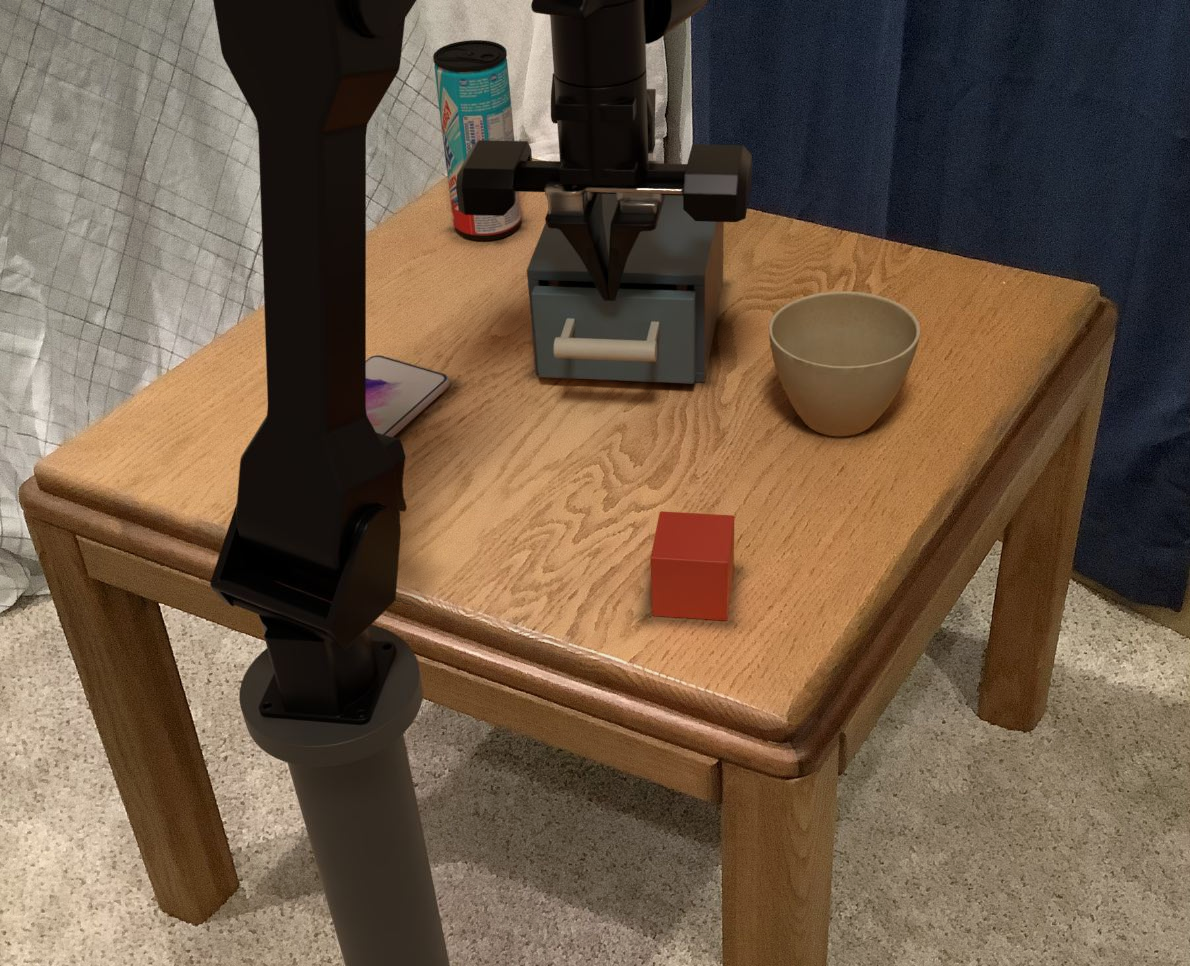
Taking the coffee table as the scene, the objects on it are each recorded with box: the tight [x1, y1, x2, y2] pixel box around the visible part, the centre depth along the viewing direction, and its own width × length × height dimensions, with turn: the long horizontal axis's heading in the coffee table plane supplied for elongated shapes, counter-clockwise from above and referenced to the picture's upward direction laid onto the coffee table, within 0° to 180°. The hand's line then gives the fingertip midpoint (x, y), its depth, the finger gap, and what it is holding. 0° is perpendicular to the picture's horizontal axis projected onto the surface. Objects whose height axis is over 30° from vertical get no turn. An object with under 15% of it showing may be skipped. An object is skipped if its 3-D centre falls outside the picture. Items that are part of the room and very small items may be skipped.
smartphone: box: [366, 354, 451, 438], centre depth 102 cm, size 7×1×15 cm
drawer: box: [532, 280, 696, 385], centre depth 104 cm, size 18×11×7 cm, turn 171°
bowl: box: [768, 290, 921, 437], centre depth 98 cm, size 10×10×7 cm
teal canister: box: [432, 39, 522, 242], centre depth 119 cm, size 6×6×15 cm
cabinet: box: [526, 194, 725, 383], centre depth 107 cm, size 15×13×9 cm
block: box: [649, 510, 736, 621], centre depth 85 cm, size 4×4×4 cm
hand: (610, 297), depth 98 cm, fingers closed
